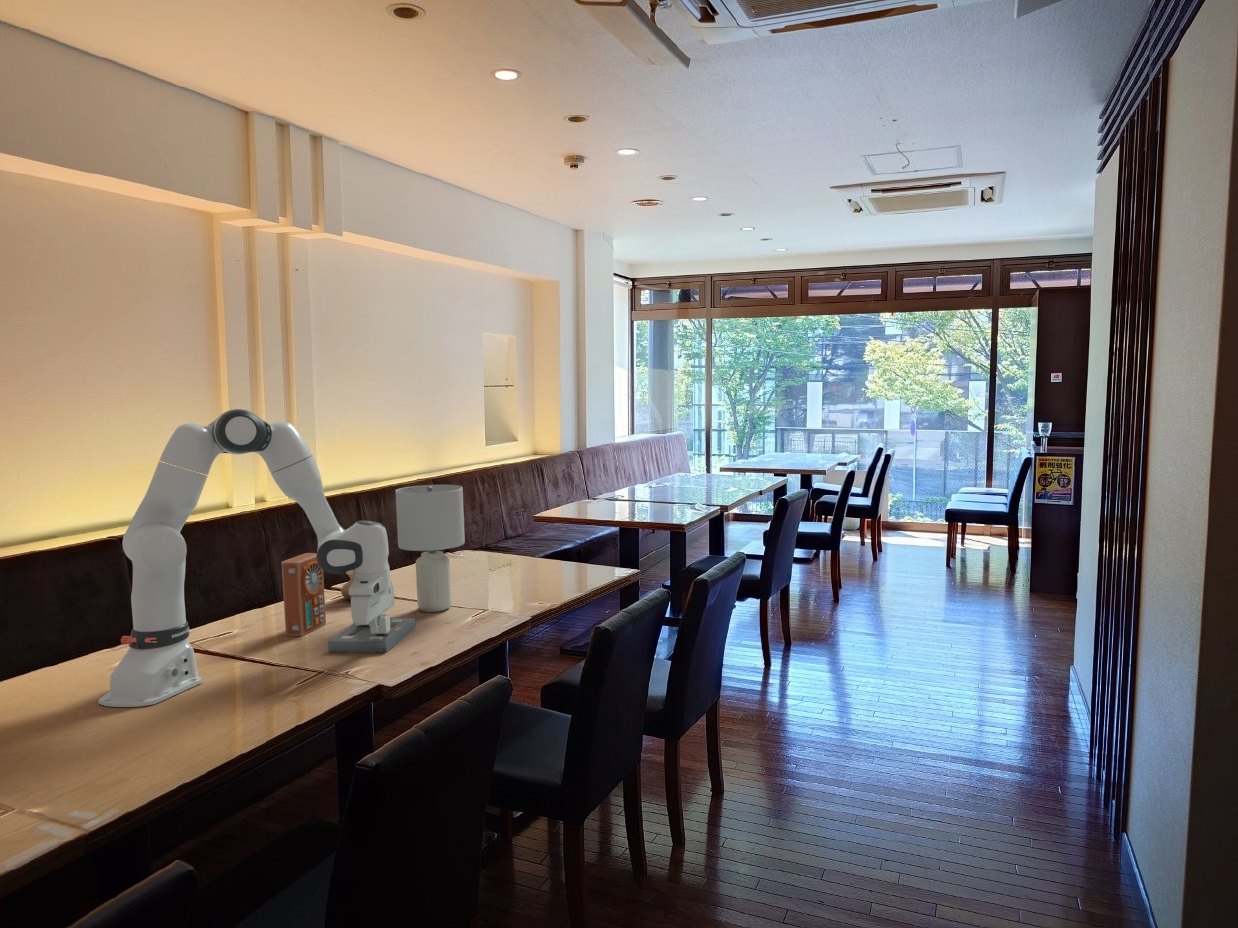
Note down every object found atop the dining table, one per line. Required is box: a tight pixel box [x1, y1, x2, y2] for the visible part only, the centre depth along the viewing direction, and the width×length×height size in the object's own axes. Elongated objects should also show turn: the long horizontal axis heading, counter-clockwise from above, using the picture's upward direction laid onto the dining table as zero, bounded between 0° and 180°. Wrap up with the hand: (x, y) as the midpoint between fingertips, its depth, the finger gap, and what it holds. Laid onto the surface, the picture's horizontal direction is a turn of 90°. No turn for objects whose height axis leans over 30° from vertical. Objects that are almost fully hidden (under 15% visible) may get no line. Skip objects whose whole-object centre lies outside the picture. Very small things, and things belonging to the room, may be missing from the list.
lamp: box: [395, 484, 466, 613], centre depth 260 cm, size 20×20×39 cm
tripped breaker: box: [377, 614, 391, 634], centre depth 226 cm, size 3×4×4 cm
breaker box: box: [327, 617, 416, 654], centre depth 231 cm, size 22×16×3 cm
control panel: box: [280, 552, 327, 637], centre depth 242 cm, size 21×7×15 cm
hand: (375, 631), depth 222 cm, fingers closed
